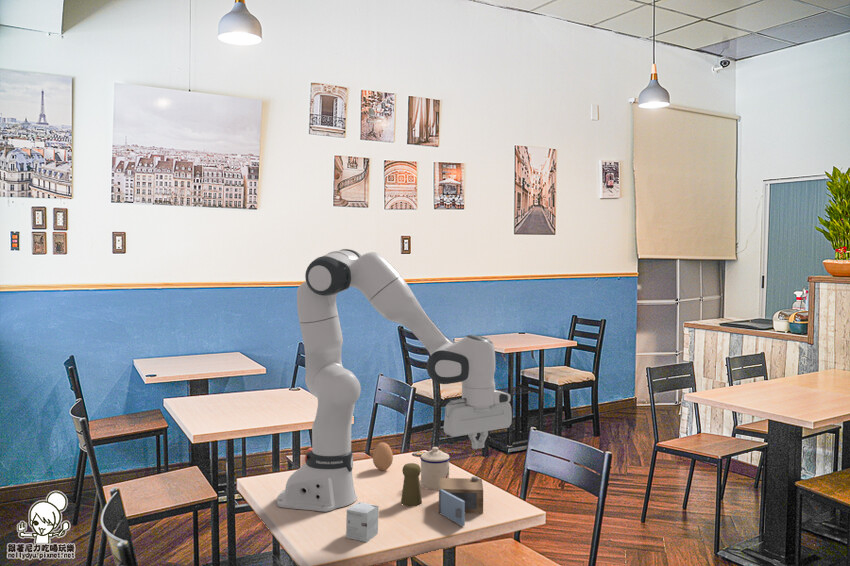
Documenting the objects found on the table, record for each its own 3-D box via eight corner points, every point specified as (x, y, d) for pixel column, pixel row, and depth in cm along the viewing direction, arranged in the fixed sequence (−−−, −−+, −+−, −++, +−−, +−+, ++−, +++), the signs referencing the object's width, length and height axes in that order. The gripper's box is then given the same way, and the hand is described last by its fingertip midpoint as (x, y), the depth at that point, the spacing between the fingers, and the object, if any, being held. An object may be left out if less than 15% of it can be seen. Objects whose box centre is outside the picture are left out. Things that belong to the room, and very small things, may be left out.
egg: (397, 470, 216) (397, 442, 216) (381, 474, 212) (381, 446, 211) (384, 465, 221) (384, 438, 221) (368, 469, 216) (368, 442, 216)
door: (435, 513, 179) (435, 489, 179) (441, 511, 180) (441, 488, 180) (459, 527, 170) (459, 502, 170) (465, 525, 171) (465, 501, 171)
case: (439, 512, 180) (439, 486, 180) (439, 500, 190) (439, 475, 189) (483, 513, 180) (483, 487, 180) (481, 501, 189) (481, 475, 189)
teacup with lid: (453, 489, 199) (453, 451, 198) (423, 491, 197) (424, 452, 196) (443, 476, 210) (443, 440, 210) (415, 478, 208) (415, 441, 208)
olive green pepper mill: (419, 507, 184) (419, 468, 184) (398, 505, 185) (398, 466, 185) (423, 499, 190) (424, 461, 190) (403, 497, 191) (403, 460, 191)
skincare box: (345, 538, 164) (345, 509, 163) (358, 529, 169) (358, 500, 169) (367, 542, 161) (367, 513, 161) (378, 533, 167) (378, 504, 167)
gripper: (452, 403, 167) (452, 457, 167) (515, 394, 178) (514, 445, 178) (439, 398, 172) (438, 451, 173) (500, 390, 183) (500, 440, 184)
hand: (477, 448), depth 176 cm, fingers closed
